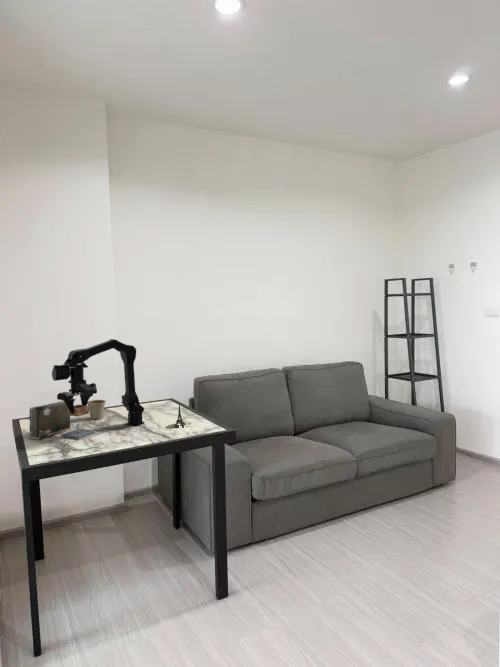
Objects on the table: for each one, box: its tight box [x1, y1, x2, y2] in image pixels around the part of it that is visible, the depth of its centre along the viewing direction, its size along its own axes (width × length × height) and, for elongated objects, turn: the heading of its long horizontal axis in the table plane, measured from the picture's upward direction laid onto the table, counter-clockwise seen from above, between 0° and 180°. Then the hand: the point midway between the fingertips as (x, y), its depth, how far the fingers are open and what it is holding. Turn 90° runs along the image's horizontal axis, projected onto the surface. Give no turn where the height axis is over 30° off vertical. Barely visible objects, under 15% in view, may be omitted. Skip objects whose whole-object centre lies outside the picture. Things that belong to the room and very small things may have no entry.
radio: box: [27, 400, 72, 440], centre depth 222 cm, size 23×9×15 cm, turn 152°
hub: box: [62, 422, 96, 440], centre depth 219 cm, size 10×10×5 cm
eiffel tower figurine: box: [165, 401, 187, 429], centre depth 233 cm, size 15×10×13 cm
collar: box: [67, 404, 90, 418], centre depth 218 cm, size 7×7×4 cm
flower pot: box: [87, 399, 107, 420], centre depth 249 cm, size 9×9×9 cm
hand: (78, 411), depth 218 cm, fingers closed on collar, 7 cm apart
